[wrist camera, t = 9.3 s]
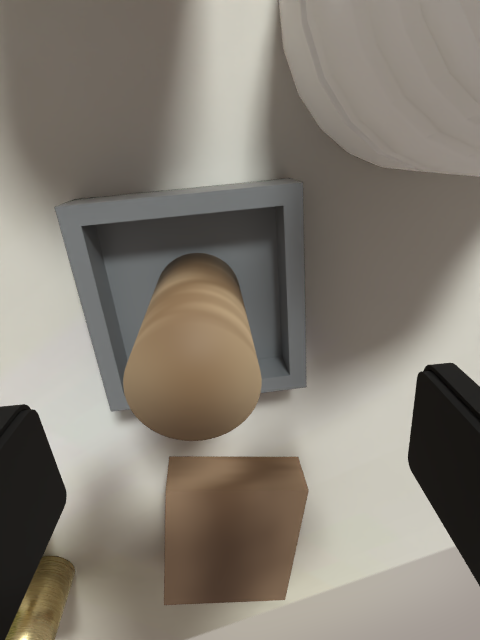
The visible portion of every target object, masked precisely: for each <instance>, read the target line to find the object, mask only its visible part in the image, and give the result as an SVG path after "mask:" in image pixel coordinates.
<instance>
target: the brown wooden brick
mask: <svg viewBox="0 0 480 640" xmlns="http://www.w3.org/2000/svg"><path fill="white" fill-rule="evenodd" d="M307 495H308V487H307V484H306V481H305V477H304V474H303V471H302V468H301V465H300V461H299V458H298V457H169V465H168V474H167V483H166V501H165V576H164V605H177V604H200V603H224V602H247V601H270V600H285V597H286V593H287V588H288V583H289V579H290V574H291V569H292V565H293V560H294V555H295V551H296V546H297V542H298V537H299V532H300V528H301V523H302V518H303V514H304V509H305V504H306V500H307Z"/></svg>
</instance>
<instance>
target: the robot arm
mask: <svg viewBox="0 0 480 640" xmlns="http://www.w3.org/2000/svg"><path fill="white" fill-rule="evenodd" d="M408 462H409V466H410V469H411V471H412V473H413V475H414V476H415V478H416V480H417V481H418V483H419V485H420V486H421V488H422V490H423V491H424V493H425V495H426V497H427V498H428V500H429V502H430V503H431V505H432V507H433V508H434V510H435V512H436V513H437V515H438V517H439V518H440V520H441V522H442V523H443V525H444V527H445V528H446V530H447V532H448V533H449V535H450V537H451V539H452V540H453V542H454V544H455V545H456V547H457V549H458V550H459V552H460V554H461V555H462V557H463V558H464V560H465V562H466V564H467V565H468V567H469V569H470V570H471V572H472V574H473V575H474V577H475V579H476V580H477V582H478V584H479V586H480V387H479V386H478V385H477V384H476V383H475V382H474V381H473V380H472V379H471V378H469V377H468V376H467V375H466V374H465V373H464V372H463V371H462V370H461V369H460V368H458V367H457V366H456V365H455V364H453V363H444V364H434V365H427V366H426V367H425V369H424V371H423V372H420V373H419V374H418V377H417V384H416V392H415V401H414V409H413V418H412V426H411V435H410V443H409V452H408ZM65 503H66V489H65V486H64V483H63V481H62V478H61V475H60V473H59V470H58V467H57V464H56V462H55V459H54V456H53V454H52V451H51V448H50V445H49V443H48V440H47V437H46V434H45V432H44V429H43V426H42V424H41V421H40V418H39V415H38V413H37V412H36V411H35V410H31V409H30V407H29V406H28V405H25V404H23V405H13V406H3V407H0V640H5V639H6V637H7V634H8V632H9V630H10V628H11V625H12V623H13V621H14V619H15V616H16V614H17V612H18V610H19V607H20V605H21V603H22V601H23V599H24V596H25V594H26V592H27V590H28V587H29V585H30V583H31V581H32V578H33V576H34V574H35V572H36V569H37V567H38V565H39V563H40V560H41V558H42V556H43V554H44V551H45V549H46V547H47V545H48V542H49V540H50V538H51V536H52V533H53V531H54V529H55V527H56V524H57V522H58V520H59V518H60V515H61V513H62V511H63V509H64V506H65Z"/></svg>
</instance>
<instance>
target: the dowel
mask: <svg viewBox="0 0 480 640" xmlns="http://www.w3.org/2000/svg"><path fill="white" fill-rule="evenodd" d="M261 386H262V378H261V372H260V367H259V363H258V359H257V355H256V351H255V347H254V343H253V339H252V335H251V331H250V327H249V323H248V318H247V314H246V310H245V306H244V302H243V298H242V294H241V290H240V286H239V282H238V279H237V277H236V275H235V273H234V271H233V270H232V269H231V268H230V266H229V265H228V264H226V263H225V262H224V261H223V260H221V259H219V258H218V257H216V256H213V255H210V254H206V253H190V254H186V255H182V256H180V257H178V258H176V259H175V260H173V261H172V262H170V263H169V264H168V265H167V266H166V267H165V269H164V270H163V271H162V273H161V275H160V277H159V280H158V282H157V285H156V288H155V290H154V293H153V296H152V298H151V301H150V304H149V306H148V309H147V312H146V314H145V317H144V319H143V322H142V325H141V327H140V330H139V333H138V335H137V338H136V341H135V343H134V346H133V349H132V351H131V354H130V357H129V359H128V362H127V365H126V368H125V371H124V377H123V388H124V394H125V397H126V400H127V403H128V405H129V407H130V409H131V410H132V412H133V413H134V415H135V416H136V417H137V418H138V419H139V420H140V421H141V422H142V423H143V424H144V425H146V426H147V427H148V428H150V429H151V430H153V431H155V432H157V433H159V434H161V435H164V436H166V437H169V438H173V439H178V440H185V441H198V440H206V439H211V438H215V437H218V436H221V435H223V434H226V433H228V432H230V431H231V430H233V429H235V428H236V427H238V426H239V425H240V424H241V423H242V422H244V421H245V420H246V419H247V418H248V416H249V415H250V414H251V413H252V411H253V410H254V408H255V406H256V404H257V402H258V400H259V396H260V393H261Z"/></svg>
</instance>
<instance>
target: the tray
mask: <svg viewBox="0 0 480 640" xmlns="http://www.w3.org/2000/svg"><path fill="white" fill-rule="evenodd" d="M55 211H56V214H57V218H58V222H59V225H60V229H61V233H62V236H63V240H64V243H65V247H66V251H67V254H68V258H69V261H70V265H71V269H72V272H73V276H74V280H75V283H76V287H77V290H78V294H79V298H80V301H81V305H82V309H83V312H84V316H85V319H86V323H87V327H88V330H89V334H90V338H91V341H92V345H93V348H94V352H95V356H96V359H97V363H98V367H99V370H100V374H101V377H102V381H103V385H104V388H105V392H106V395H107V399H108V403H109V406H110V410H111V411H119V410H127V409H130V407H129V405H128V403H127V400H126V397H125V394H124V388H123V377H124V371H125V368H126V365H127V362H128V359H129V357H130V354H131V351H132V349H133V346H134V343H135V341H136V338H137V335H138V333H139V330H140V327H141V325H142V322H143V319H144V317H145V314H146V312H147V309H148V306H149V304H150V301H151V298H152V296H153V293H154V290H155V288H156V285H157V282H158V280H159V277H160V275H161V273H162V271H163V270H164V269H165V267H166V266H167V265H168V264H169V263H170V262H172V261H173V260H175V259H176V258H178V257H180V256H182V255H186V254H190V253H206V254H210V255H213V256H216V257H218V258H219V259H221V260H223V261H224V262H225V263H226V264H228V265H229V266H230V268H231V269H232V270H233V271H234V273H235V275H236V277H237V279H238V282H239V286H240V290H241V294H242V298H243V302H244V306H245V310H246V314H247V318H248V323H249V327H250V331H251V335H252V339H253V343H254V347H255V351H256V355H257V359H258V363H259V367H260V372H261V378H262V386H261V393H264V392H272V391H280V390H288V389H296V388H304V387H306V329H305V270H304V212H303V182H300V181H297V180H294V179H291V178H287V179H277V180H267V181H257V182H247V183H236V184H226V185H216V186H206V187H196V188H186V189H175V190H165V191H155V192H145V193H135V194H125V195H114V196H104V197H94V198H84V199H74V200H72V201H69V202H66V203H64V204H61V205H58V206H56V207H55Z"/></svg>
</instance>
